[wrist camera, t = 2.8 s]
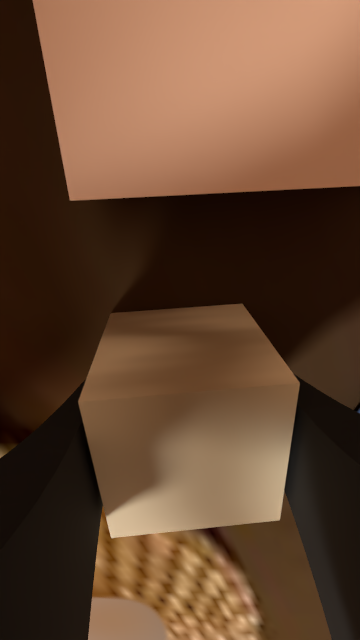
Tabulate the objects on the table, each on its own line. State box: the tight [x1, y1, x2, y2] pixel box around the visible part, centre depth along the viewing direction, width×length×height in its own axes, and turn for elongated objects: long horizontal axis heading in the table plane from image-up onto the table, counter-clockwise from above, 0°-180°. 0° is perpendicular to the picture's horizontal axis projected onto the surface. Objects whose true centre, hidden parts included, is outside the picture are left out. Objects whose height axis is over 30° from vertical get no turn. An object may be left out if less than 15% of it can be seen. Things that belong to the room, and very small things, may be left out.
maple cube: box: [78, 304, 300, 538], centre depth 10 cm, size 5×5×5 cm
